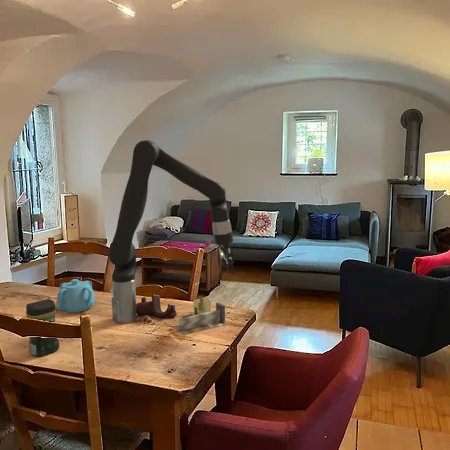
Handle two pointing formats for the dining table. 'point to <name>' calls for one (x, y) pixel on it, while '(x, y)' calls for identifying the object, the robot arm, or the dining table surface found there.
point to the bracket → (154, 308)
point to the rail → (202, 321)
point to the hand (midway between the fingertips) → (228, 269)
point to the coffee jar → (46, 313)
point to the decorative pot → (75, 296)
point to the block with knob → (201, 306)
